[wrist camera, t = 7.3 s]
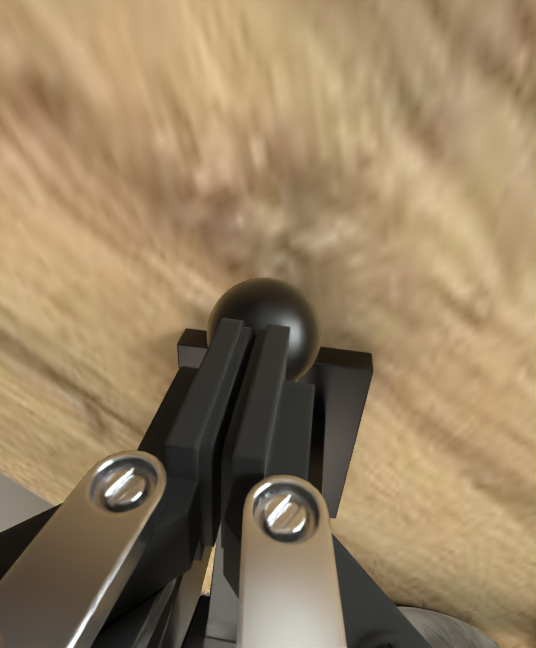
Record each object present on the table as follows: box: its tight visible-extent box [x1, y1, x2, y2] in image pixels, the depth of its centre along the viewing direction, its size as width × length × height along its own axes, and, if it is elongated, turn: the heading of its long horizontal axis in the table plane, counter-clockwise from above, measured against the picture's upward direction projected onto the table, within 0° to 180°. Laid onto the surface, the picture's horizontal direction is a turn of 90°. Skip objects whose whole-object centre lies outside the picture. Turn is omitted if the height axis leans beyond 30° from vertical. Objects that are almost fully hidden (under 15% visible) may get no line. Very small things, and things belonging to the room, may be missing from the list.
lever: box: [181, 278, 321, 648], centre depth 12 cm, size 13×3×3 cm
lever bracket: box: [146, 329, 373, 648], centre depth 16 cm, size 10×8×12 cm
